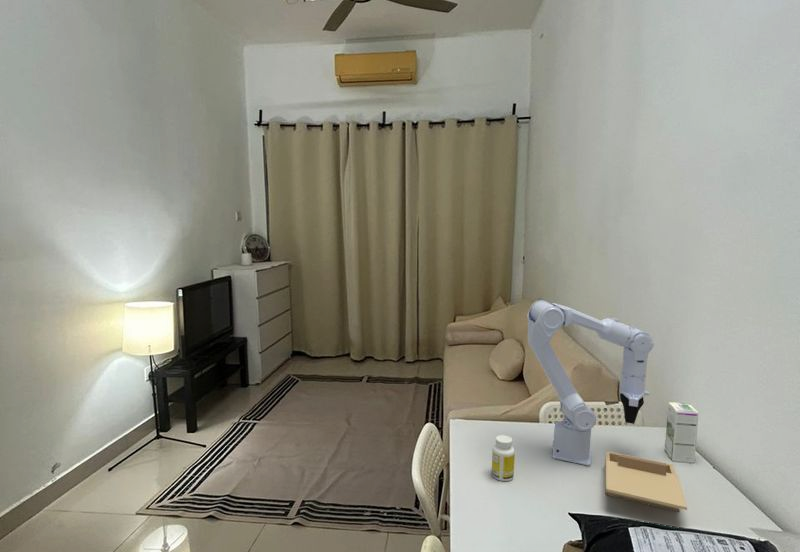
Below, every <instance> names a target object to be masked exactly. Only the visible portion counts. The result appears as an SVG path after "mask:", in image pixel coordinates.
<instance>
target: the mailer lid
mask: <svg viewBox="0 0 800 552" xmlns="http://www.w3.org/2000/svg"><path fill="white" fill-rule="evenodd" d="M621 454H622V453H619V455H618V462H613V461H608V460H606V459H605V460H606V491H607V492H611V493H616V494H620V495H624V496H628V497H633V498H637V499H641V500H646V501H650V502H654V503H658V504H663V505H667V506H671V507H676V508H680V509H681V510H685V511H687V510H688V506H687V501H686V499H685V495H684V492H683V489H682V488H683V487H682V485H681V482H680V478H679V475H678V474H676V473H675V474H676V475H675V474H671V473H666V468H667V465H666V462H664V463H661V462H662V461H659V462H656V461H657V460H654V461H651V460H652V459H649V460H646V459H647V458H644V459H641V458H642V457H639V458H636V457H637V456H634V457H631V456H632V455H629V456H626V455H627V454H624V455H621ZM680 509H679V510H680Z"/></svg>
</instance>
